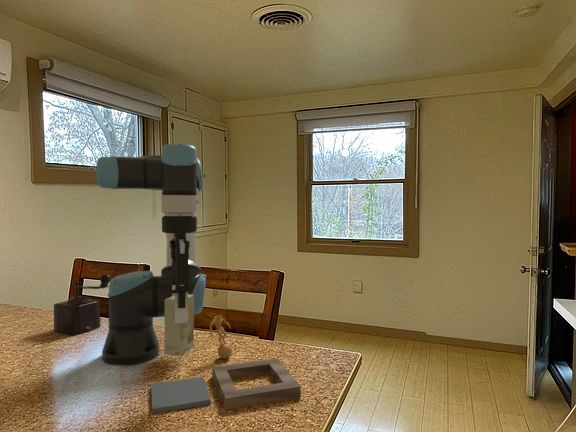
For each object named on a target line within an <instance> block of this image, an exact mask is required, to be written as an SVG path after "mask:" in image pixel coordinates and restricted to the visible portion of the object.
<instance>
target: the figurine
mask: <svg viewBox="0 0 576 432" xmlns="http://www.w3.org/2000/svg"><path fill="white" fill-rule="evenodd" d="M223 322H224V323H225V324H226V325H227V326H228V327H229V329H231V325H230V324H229V322H228V321H227V320H226V319H225V318H223V317H222V315H221V314H218V315H215V316H214V317H212V321H211V322H210V324H209V331H210V337H213V336H214V333H213V329H212V328H213V327H212V326H213V325H215V327H216V329H215V332H216V333H217V335H218V336H219V337H218V342H219V344H220V345H219V346H218V349H217V355H218V357H219V358H220V359H224V360H225V359H228V358H230V357H231V355H232V353H233V349H232V346H230V345H229V344H228V343H227V342H226V341H225V338H226V337H227V334H228V333H227V332H226V331H225V329H224V327H223V326H222V323H223ZM221 340H222V341H221Z"/></svg>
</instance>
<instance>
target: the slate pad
mask: <svg viewBox="0 0 576 432" xmlns="http://www.w3.org/2000/svg"><path fill="white" fill-rule="evenodd" d="M150 386H151V391H150V392H151V412H152V415H154V414H160V413H165V412H172V411H177V410H182V409H189V408H195V407H202V406H206V405H212V400H211V395H210V392H209V390H208V387H207V384H206V382H205V378H204V376H198V377H191V378H185V379H175V380H169V381H163V382H155V383H151V384H150Z"/></svg>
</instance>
